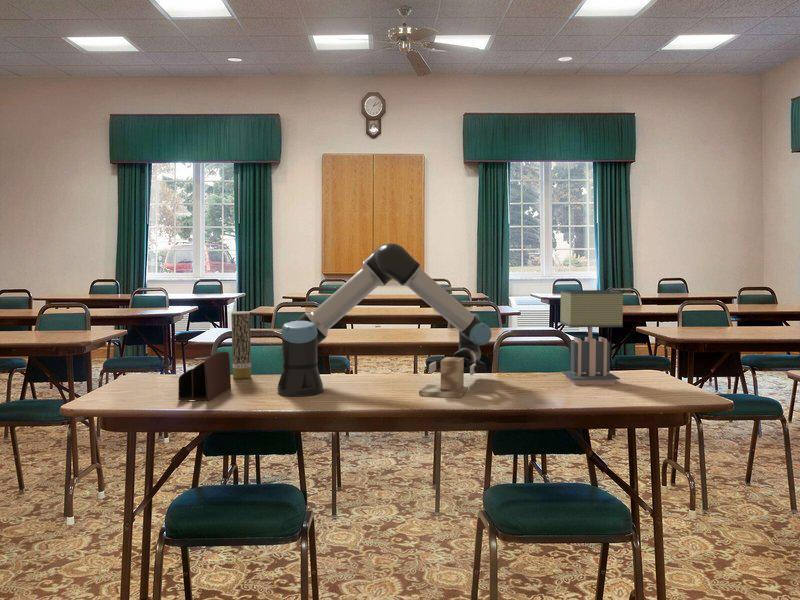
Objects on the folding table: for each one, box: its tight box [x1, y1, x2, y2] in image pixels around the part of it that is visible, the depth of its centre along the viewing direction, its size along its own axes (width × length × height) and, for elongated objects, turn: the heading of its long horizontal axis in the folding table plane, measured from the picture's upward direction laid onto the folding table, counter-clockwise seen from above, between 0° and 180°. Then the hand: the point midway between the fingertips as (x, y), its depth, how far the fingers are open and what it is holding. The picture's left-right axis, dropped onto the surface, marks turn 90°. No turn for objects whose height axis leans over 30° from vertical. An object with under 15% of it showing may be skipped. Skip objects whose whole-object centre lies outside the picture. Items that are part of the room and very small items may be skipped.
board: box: [418, 384, 469, 399], centre depth 206 cm, size 14×11×2 cm
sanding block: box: [440, 356, 465, 392], centre depth 205 cm, size 6×8×10 cm
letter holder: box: [177, 351, 232, 402], centre depth 206 cm, size 10×20×14 cm, turn 174°
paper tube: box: [230, 310, 252, 380], centre depth 235 cm, size 7×7×25 cm
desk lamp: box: [559, 289, 624, 386], centre depth 224 cm, size 18×14×33 cm
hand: (450, 370), depth 202 cm, fingers open, 13 cm apart
